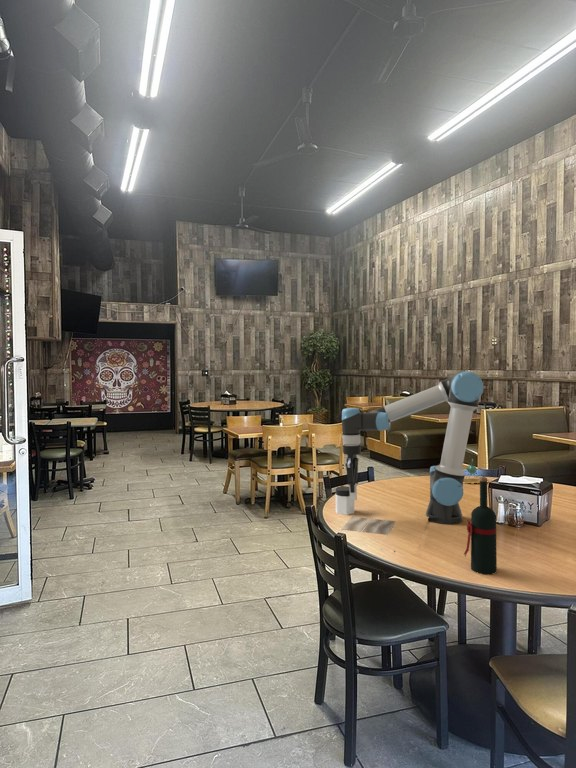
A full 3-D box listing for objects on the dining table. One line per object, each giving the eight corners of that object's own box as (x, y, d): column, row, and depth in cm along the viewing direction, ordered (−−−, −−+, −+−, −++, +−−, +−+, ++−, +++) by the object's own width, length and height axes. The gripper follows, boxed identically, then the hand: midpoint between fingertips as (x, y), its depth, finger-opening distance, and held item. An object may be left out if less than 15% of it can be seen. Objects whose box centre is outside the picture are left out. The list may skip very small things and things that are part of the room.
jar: (343, 518, 213) (342, 491, 213) (331, 514, 220) (331, 488, 220) (358, 515, 218) (358, 488, 218) (346, 511, 225) (346, 485, 224)
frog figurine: (492, 485, 272) (489, 459, 271) (459, 488, 275) (456, 462, 275) (488, 481, 281) (485, 456, 281) (456, 483, 284) (453, 458, 284)
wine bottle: (460, 564, 162) (460, 475, 161) (491, 564, 161) (491, 475, 161) (467, 574, 154) (467, 480, 153) (500, 574, 154) (500, 480, 153)
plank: (370, 521, 208) (370, 518, 208) (360, 534, 192) (360, 531, 192) (352, 518, 211) (352, 516, 211) (341, 531, 195) (341, 528, 195)
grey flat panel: (398, 524, 205) (398, 520, 205) (389, 539, 187) (389, 535, 187) (345, 518, 214) (345, 515, 214) (331, 532, 195) (331, 529, 195)
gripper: (347, 442, 214) (348, 495, 215) (338, 446, 202) (340, 503, 202) (363, 442, 211) (365, 496, 212) (356, 447, 199) (358, 504, 200)
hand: (353, 499), depth 207 cm, fingers closed
